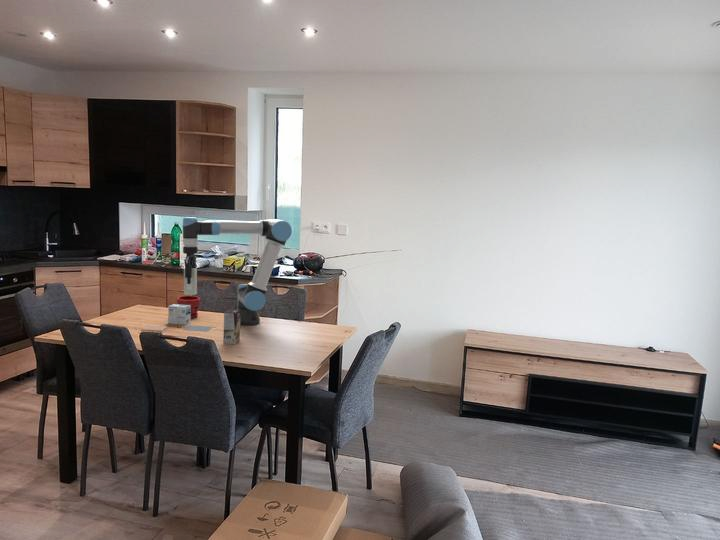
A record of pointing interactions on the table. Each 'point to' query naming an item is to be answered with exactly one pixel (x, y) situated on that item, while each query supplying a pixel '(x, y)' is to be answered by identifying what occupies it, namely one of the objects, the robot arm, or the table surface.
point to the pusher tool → (194, 283)
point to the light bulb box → (179, 314)
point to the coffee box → (231, 326)
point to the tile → (154, 328)
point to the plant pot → (191, 301)
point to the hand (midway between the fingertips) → (190, 288)
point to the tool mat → (197, 328)
